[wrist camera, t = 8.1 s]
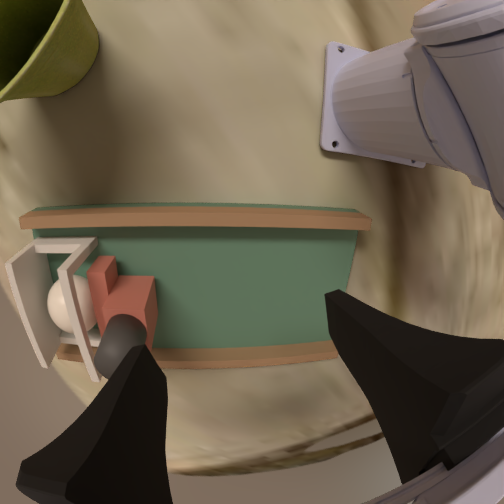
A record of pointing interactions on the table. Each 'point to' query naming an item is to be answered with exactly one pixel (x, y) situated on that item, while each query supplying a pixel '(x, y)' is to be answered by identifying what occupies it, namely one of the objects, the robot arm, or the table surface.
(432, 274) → the table surface
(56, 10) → the plant pot
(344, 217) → the pitch
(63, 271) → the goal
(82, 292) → the ball
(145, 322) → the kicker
